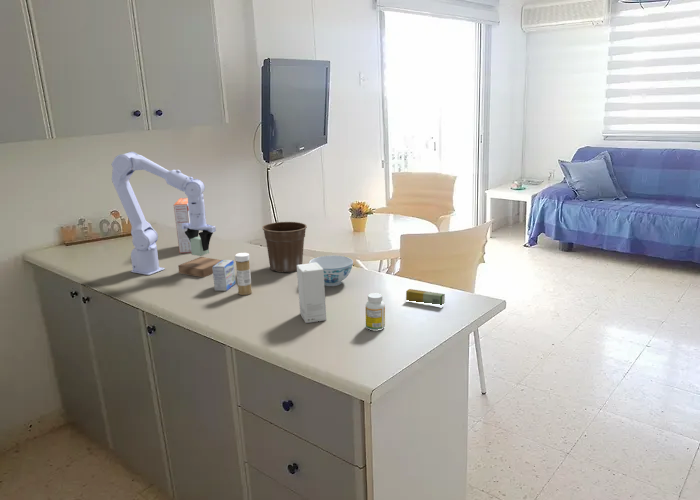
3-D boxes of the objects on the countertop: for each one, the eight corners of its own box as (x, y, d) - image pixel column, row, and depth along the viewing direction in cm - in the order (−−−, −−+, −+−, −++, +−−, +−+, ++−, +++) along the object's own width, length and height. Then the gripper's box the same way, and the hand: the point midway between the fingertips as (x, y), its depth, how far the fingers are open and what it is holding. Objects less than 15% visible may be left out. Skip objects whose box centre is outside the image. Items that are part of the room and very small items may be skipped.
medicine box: (226, 291, 189) (224, 266, 187) (214, 290, 190) (212, 266, 188) (235, 283, 197) (234, 259, 194) (223, 283, 197) (221, 259, 195)
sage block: (191, 254, 209) (190, 239, 207) (200, 251, 213) (198, 236, 211) (200, 256, 207) (199, 240, 205) (209, 253, 211) (207, 237, 209)
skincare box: (326, 321, 163) (324, 269, 159) (304, 324, 161) (301, 272, 157) (319, 310, 171) (317, 261, 167) (298, 313, 169) (295, 263, 165)
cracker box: (183, 244, 248) (178, 197, 243) (197, 244, 249) (193, 197, 243) (178, 253, 235) (172, 204, 229) (192, 252, 235) (188, 203, 230)
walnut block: (179, 273, 209) (178, 265, 209) (201, 264, 220) (200, 256, 219) (203, 277, 204) (203, 269, 203) (225, 268, 214) (225, 260, 213)
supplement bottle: (377, 333, 154) (376, 300, 152) (361, 328, 158) (361, 296, 155) (388, 327, 158) (388, 294, 156) (373, 322, 161) (373, 290, 159)
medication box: (445, 306, 173) (445, 293, 172) (442, 309, 171) (442, 296, 170) (408, 300, 179) (409, 288, 178) (405, 302, 176) (405, 290, 175)
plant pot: (302, 259, 223) (300, 219, 218) (313, 271, 208) (311, 228, 204) (261, 264, 218) (258, 223, 214) (269, 276, 203) (266, 233, 199)
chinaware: (360, 279, 199) (360, 257, 197) (341, 292, 186) (341, 270, 184) (322, 274, 205) (321, 253, 203) (302, 287, 192) (301, 265, 190)
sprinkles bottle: (249, 290, 190) (246, 251, 186) (253, 294, 186) (250, 254, 182) (236, 292, 188) (233, 253, 184) (240, 296, 184) (236, 256, 180)
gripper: (174, 213, 206) (178, 249, 209) (204, 217, 199) (208, 254, 203) (188, 210, 212) (191, 245, 215) (218, 213, 205) (221, 249, 209)
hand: (200, 249), depth 209 cm, fingers closed on sage block, 4 cm apart
